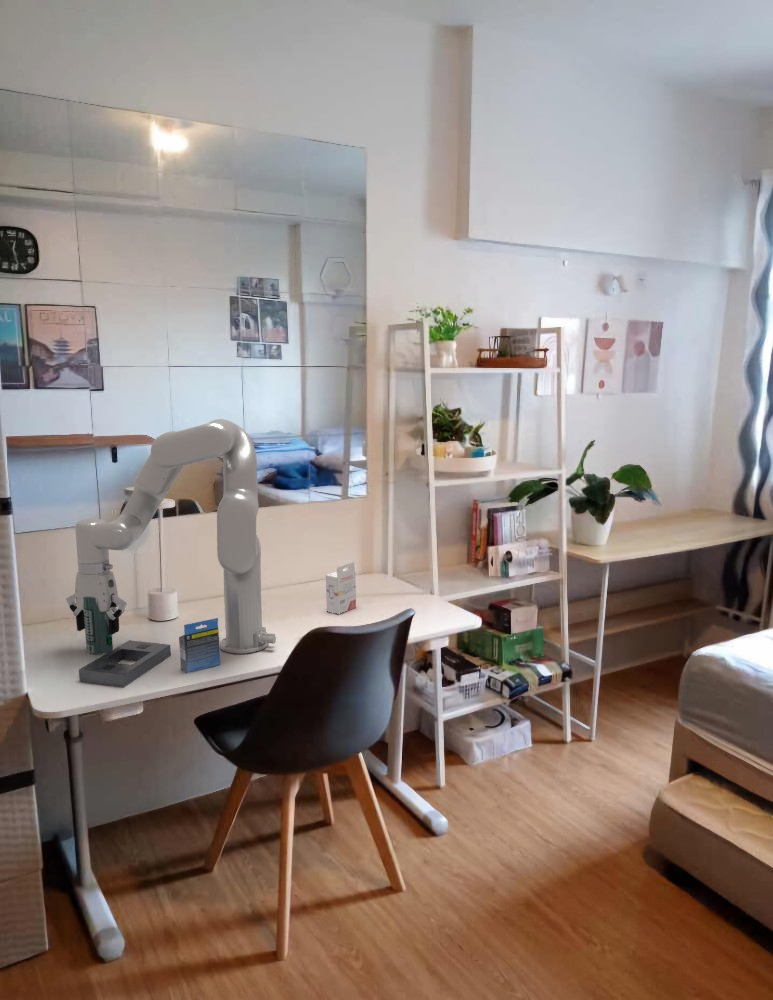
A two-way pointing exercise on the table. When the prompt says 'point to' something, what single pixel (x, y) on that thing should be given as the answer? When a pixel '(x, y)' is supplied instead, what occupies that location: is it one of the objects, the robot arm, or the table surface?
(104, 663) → the rail plate
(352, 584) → the ink cartridge box
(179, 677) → the table surface
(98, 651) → the can
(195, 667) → the label tape cartridge
